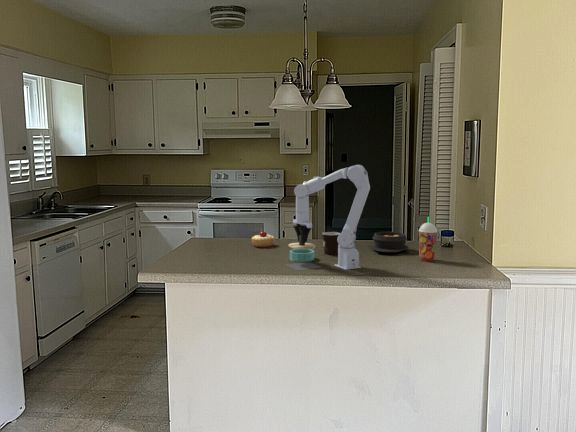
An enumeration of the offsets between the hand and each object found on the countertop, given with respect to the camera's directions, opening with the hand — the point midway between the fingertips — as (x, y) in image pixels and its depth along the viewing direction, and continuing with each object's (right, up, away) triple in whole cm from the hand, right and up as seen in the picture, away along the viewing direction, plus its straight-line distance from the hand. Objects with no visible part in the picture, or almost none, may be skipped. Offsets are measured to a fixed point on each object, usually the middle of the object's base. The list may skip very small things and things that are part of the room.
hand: (302, 241), depth 243 cm
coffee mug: (+15, -7, +23) cm, 28 cm away
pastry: (-19, -4, +43) cm, 47 cm away
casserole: (+44, -6, +29) cm, 53 cm away
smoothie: (+57, -9, +6) cm, 58 cm away
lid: (0, -2, 0) cm, 2 cm away
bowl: (0, -9, +9) cm, 13 cm away
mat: (0, -11, -5) cm, 12 cm away
